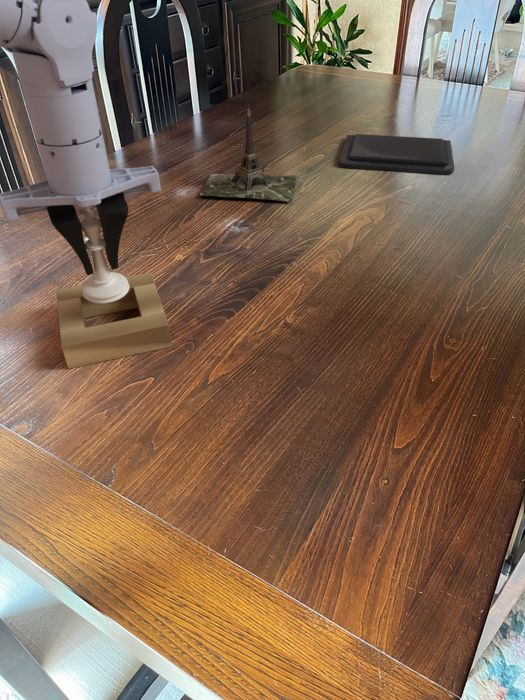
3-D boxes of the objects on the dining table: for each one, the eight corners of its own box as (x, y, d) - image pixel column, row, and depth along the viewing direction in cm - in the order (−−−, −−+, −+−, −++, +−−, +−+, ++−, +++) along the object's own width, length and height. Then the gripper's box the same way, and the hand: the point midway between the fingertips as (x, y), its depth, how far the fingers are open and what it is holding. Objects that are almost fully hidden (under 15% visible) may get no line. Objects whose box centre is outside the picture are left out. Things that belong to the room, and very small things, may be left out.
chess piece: (101, 273, 62) (81, 189, 55) (138, 283, 60) (122, 198, 54) (73, 296, 59) (48, 210, 52) (111, 308, 57) (91, 221, 50)
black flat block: (336, 156, 96) (347, 127, 107) (335, 167, 97) (346, 137, 109) (455, 165, 92) (454, 134, 104) (453, 176, 94) (452, 144, 105)
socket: (62, 310, 66) (56, 289, 64) (154, 292, 68) (150, 272, 66) (68, 369, 58) (61, 347, 56) (172, 346, 60) (168, 324, 58)
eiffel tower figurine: (197, 199, 88) (189, 112, 80) (211, 174, 96) (204, 92, 87) (291, 204, 87) (292, 115, 78) (297, 177, 94) (299, 94, 86)
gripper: (-15, 165, 44) (33, 304, 53) (161, 136, 48) (178, 269, 57) (-20, 137, 49) (25, 269, 58) (140, 113, 53) (159, 239, 62)
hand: (100, 267), depth 58 cm, fingers closed on chess piece
